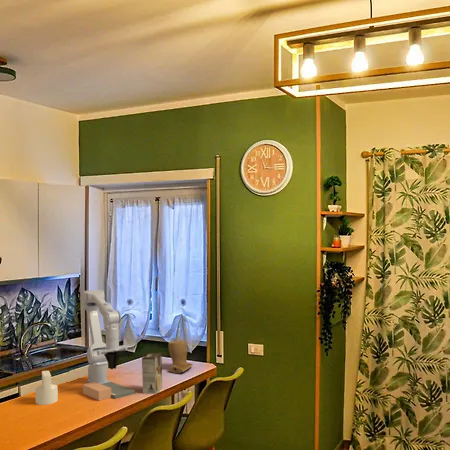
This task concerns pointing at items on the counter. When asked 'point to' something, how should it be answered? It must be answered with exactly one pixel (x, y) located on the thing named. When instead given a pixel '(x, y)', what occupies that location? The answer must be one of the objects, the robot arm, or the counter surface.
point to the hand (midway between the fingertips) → (112, 368)
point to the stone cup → (178, 356)
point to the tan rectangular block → (96, 391)
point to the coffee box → (152, 373)
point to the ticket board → (118, 390)
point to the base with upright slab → (46, 390)
